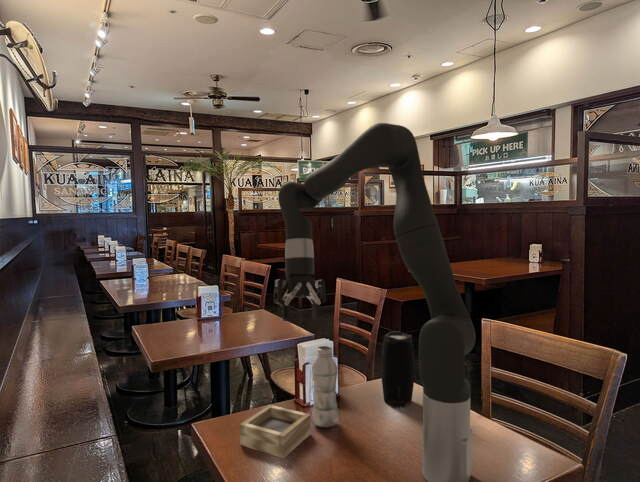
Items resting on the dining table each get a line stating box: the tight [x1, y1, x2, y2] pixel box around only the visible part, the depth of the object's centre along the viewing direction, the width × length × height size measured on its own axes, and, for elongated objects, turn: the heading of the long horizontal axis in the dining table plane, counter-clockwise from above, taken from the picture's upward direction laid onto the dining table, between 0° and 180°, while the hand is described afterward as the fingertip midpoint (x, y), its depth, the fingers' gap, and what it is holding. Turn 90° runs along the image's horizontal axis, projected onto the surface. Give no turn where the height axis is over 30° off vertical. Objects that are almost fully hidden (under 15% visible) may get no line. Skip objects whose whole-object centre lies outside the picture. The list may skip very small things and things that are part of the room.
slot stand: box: [239, 404, 311, 459], centre depth 104 cm, size 12×12×5 cm
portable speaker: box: [381, 330, 415, 408], centre depth 124 cm, size 9×9×20 cm
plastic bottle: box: [311, 345, 339, 429], centre depth 111 cm, size 6×7×20 cm
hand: (301, 320), depth 111 cm, fingers open, 8 cm apart
